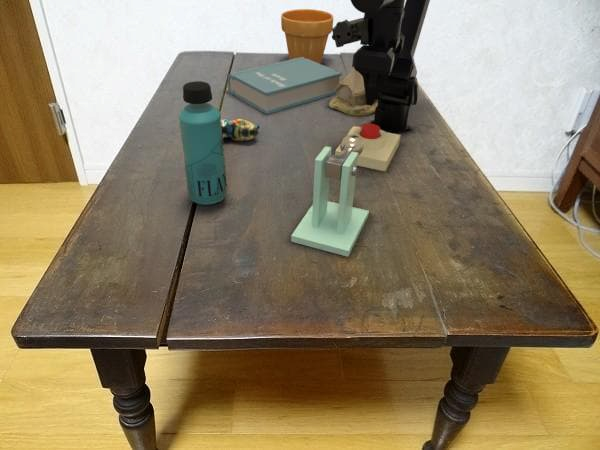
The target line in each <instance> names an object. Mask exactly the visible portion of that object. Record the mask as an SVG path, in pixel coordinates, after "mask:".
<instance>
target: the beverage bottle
mask: <svg viewBox="0 0 600 450" xmlns="http://www.w3.org/2000/svg"><path fill="white" fill-rule="evenodd" d="M182 100H183V101H184V102H185V103H187V105H185V106H184V107H183V108H182V109H181V110H180V111H179V113H178V116H177V119H178V121H179V128H180V137H181V145H182V151H183V152H182V153H183V159H184V171H185V178H186V179H185V180H186V185H187V194H188V197H189V199H190V200H191V201H192V202H194V203H196V204H198V205H203V206H205V205H206V206H207V205H213V204H217V203H219V202H222V200H224V199H225V197H226V196H227V188H228V187H227V186H228V184H227V179H228V178H227V172H226V164H225V163H226V159H225V152H224V151H225V149H224V147H225V145H224V141H225V140H224V138H223V136H222V135H223V134H222V133H223V132H222V128H223V127H221V119H222V118H221V117H222V114H221V111H220V110H219V109H218V108H217V107H216V106H214V104H211V103H209V102H211V101H212V100H213V93H212V89H211V84H210V83H208V82H207V81H201V80H199V81H189V82H187V83H184V85H183V86H182Z"/></svg>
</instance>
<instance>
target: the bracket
mask: <svg viewBox="0 0 600 450" xmlns="http://www.w3.org/2000/svg"><path fill="white" fill-rule="evenodd" d="M331 156H332V146H328V145H327V146H326V145H325V146H324V147H323V148H322V149H321V151H320V152H319V154H318V155H317V156H316V158H315V159H314V170H313V171H314V172H313V192H312V204H311V206H310V207H309V209H308V210H307V211H306V213H305V215H304V216H303V217H302V219H301V221H300V222H299V223H298V225H297V227H296V228H295V230H294V231H293V232H292V234H291V235H290V242H292V243H295V244H298V245H302V246H306V247H309V248H314V249H317V250H321V251H325V252H328V253H332V254H336V255H340V256H343V257H346V258H348V257H349V256H350V254H351V252H352V250H353V248H354V247H355V245H356V242H357V240H358V238H359V236H360V234H361V232H362V230H363V228H364V227H365V224H366V222H367V220H368V218H369V216H370V215H369V213H370V211H369V210H368V209H363V208H358V207H355V206H353V204H354V197H355V187H356V178H357V174H358V167H359V166H357V160H358V153H357V152H351V153H350V155H349V156H348V158H347V159H346V161H345V162H344V164H343V165H342V176H341V179H340V190H339V198H338V199H339V201H338V202H333V201H329V189H330V187H329V186H330V178H327V177H325V172H326V162H327V161H328V159H329V158H330V157H331Z"/></svg>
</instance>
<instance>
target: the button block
mask: <svg viewBox="0 0 600 450" xmlns="http://www.w3.org/2000/svg"><path fill="white" fill-rule="evenodd" d="M361 127H362V126H357V125H356V126H355V125H353V126H352V127H351V128H350V130H349V131H348V133H347V134H346V135H345V137H346V136H348V135H356V136H358V137H360V138H361V140H362V141H363V145H364V148H363V151H362V153H361V154H360V155H359V156H358V160H357V167H362V168H367V169H372V170H376V171H380V172H386V171H387V169H388V167H389V165H390V164H391V161H392V159H393V158H394V156H395V153H396V152H397V150H398V147H399V146H400V142H401V137H402V135H401V134H398V133H388V132H385V131H383V130H381V129H380V134H379V138H377V139H367V138H363V137H361ZM340 145H341V143H340V144H339V145H338V146H337V148H336V149H335V151H334V155H338V156H339V155H340V154H341V149H340Z"/></svg>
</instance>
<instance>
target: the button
mask: <svg viewBox="0 0 600 450" xmlns="http://www.w3.org/2000/svg"><path fill="white" fill-rule="evenodd" d="M360 127H361V137H363V138H367V139H377V138H379V134H380V127H379V126H378V125H375V124H371V123H364V124H362V125H361V126H360Z"/></svg>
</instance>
